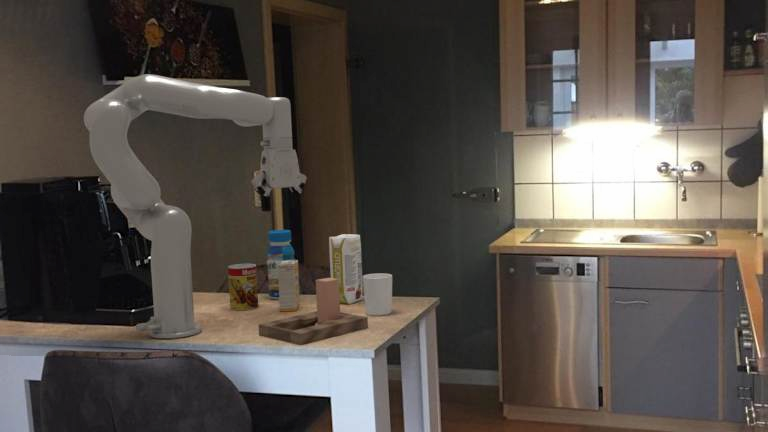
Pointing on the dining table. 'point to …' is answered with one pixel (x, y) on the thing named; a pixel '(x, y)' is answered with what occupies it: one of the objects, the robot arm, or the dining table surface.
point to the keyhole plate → (311, 327)
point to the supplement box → (288, 285)
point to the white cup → (377, 293)
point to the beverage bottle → (277, 257)
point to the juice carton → (347, 266)
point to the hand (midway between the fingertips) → (281, 209)
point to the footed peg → (327, 299)
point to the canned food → (243, 286)
